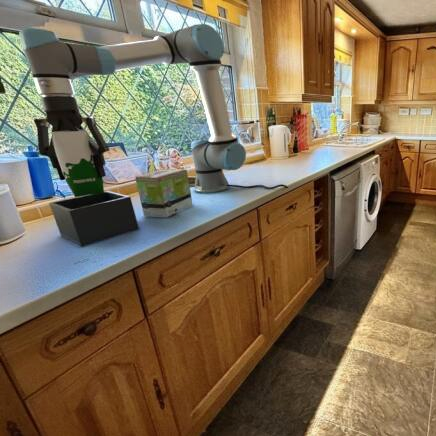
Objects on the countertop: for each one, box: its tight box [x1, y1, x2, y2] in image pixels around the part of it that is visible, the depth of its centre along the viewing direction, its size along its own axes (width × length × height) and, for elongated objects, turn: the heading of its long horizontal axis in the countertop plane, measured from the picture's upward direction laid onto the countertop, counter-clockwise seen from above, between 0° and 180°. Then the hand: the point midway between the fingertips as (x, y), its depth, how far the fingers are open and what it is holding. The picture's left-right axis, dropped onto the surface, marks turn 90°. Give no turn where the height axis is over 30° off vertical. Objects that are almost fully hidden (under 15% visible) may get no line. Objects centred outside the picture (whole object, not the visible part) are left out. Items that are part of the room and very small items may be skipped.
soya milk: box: [51, 129, 105, 198], centre depth 87 cm, size 9×9×20 cm
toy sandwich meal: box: [188, 175, 196, 187], centre depth 155 cm, size 12×14×5 cm
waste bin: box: [48, 190, 140, 248], centre depth 93 cm, size 16×16×11 cm
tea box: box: [134, 168, 194, 219], centre depth 111 cm, size 15×10×15 cm
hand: (83, 178), depth 89 cm, fingers closed on soya milk, 9 cm apart
